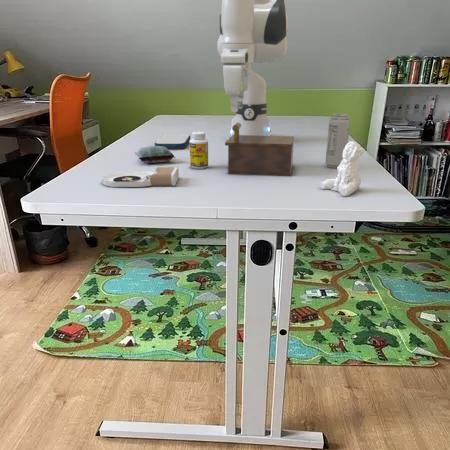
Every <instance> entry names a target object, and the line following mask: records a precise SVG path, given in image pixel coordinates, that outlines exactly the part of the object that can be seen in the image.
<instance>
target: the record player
mask: <svg viewBox="0 0 450 450" xmlns="http://www.w3.org/2000/svg"><path fill="white" fill-rule="evenodd" d="M179 178H180V172H179V167H178V166H164V167H163V166H159V167H156V168H155V171H147V170H146V171H118V172H117V171H116V172H112V173H108V174H105V175H103V176H102V179H101V180H102V184H103V185H104V186H107V187H111V188H113V187H114V188H140V187H141V188H143V187H149V186H150V187H151V186H152V187H159V186H160V187H162V186H163V187H165V186H167V187H168V186H172V187H173V186H176V184H177V183H178V181H179Z"/></svg>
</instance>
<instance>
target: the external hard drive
mask: <svg viewBox="0 0 450 450" xmlns="http://www.w3.org/2000/svg"><path fill="white" fill-rule="evenodd" d="M190 140H191V134H189V133H164V134H161V135H160V136H159V137H158V138H157V139H156V140H155V141H154V146H163V147H166V148H168V149H182V148H185V147H186V146H187V145H188V143H189V141H190Z"/></svg>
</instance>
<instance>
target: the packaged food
mask: <svg viewBox="0 0 450 450" xmlns="http://www.w3.org/2000/svg"><path fill="white" fill-rule="evenodd" d="M133 153H134V155H135V156H137V157H138V158H137V160H140V161H141V162H142V163H144V164H159V163H166V162H168V161H171V160H173V159H176V155H175V154H173V153H172V151H171V150H169V148H166V147H163V146H155V145H149V146H144V147H143V146H142V147H140V148H139V150H137V151H133Z"/></svg>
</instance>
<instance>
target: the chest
mask: <svg viewBox="0 0 450 450" xmlns="http://www.w3.org/2000/svg"><path fill="white" fill-rule="evenodd" d="M294 140H295V139H294ZM294 140H293V144H292V147H264V146H227V157H228V158H227V173H228V175H246V176H247V175H248V176H249V175H253V176H274V177H275V176H276V177H277V176H278V177H291V174H292V173H291V172H292V168H293V158H294V157H293V156H294V143H295V142H294Z"/></svg>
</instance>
